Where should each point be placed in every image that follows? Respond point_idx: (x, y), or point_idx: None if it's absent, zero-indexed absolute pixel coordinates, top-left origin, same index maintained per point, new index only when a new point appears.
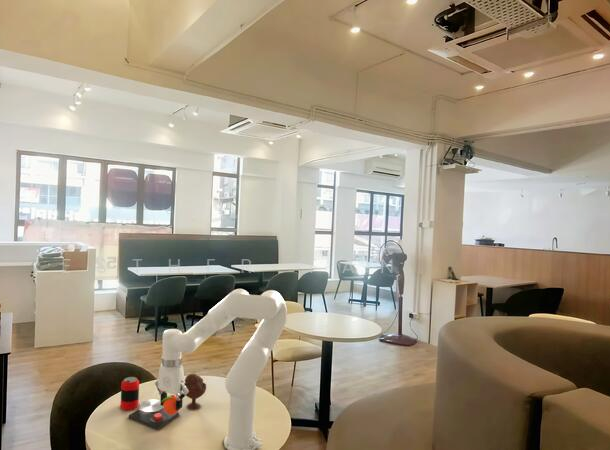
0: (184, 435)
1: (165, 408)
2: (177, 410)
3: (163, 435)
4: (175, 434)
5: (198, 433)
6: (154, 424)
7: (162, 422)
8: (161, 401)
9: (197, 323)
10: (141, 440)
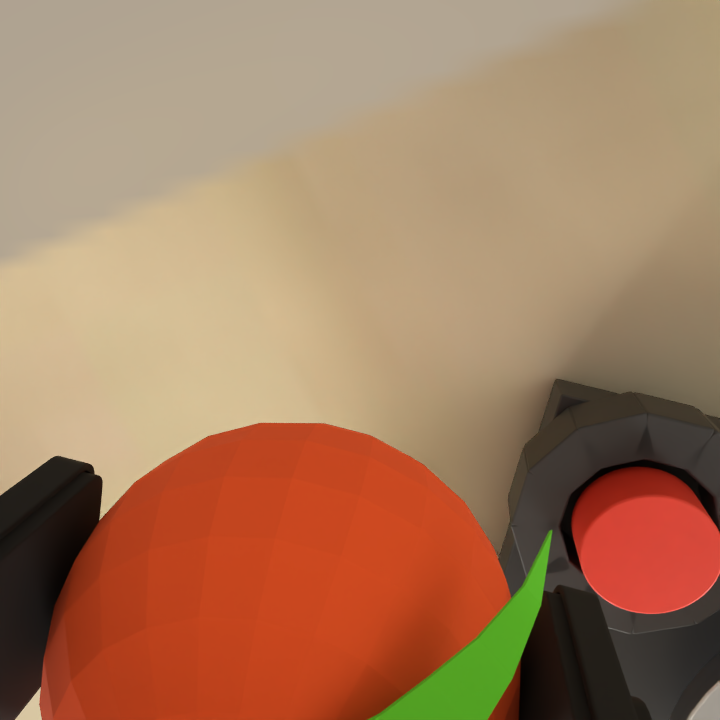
0: (187, 373)
1: (367, 453)
2: (59, 464)
3: (431, 290)
4: (296, 359)
5: (67, 456)
6: (634, 399)
7: (525, 461)
8: (585, 663)
9: None
10: (689, 65)
